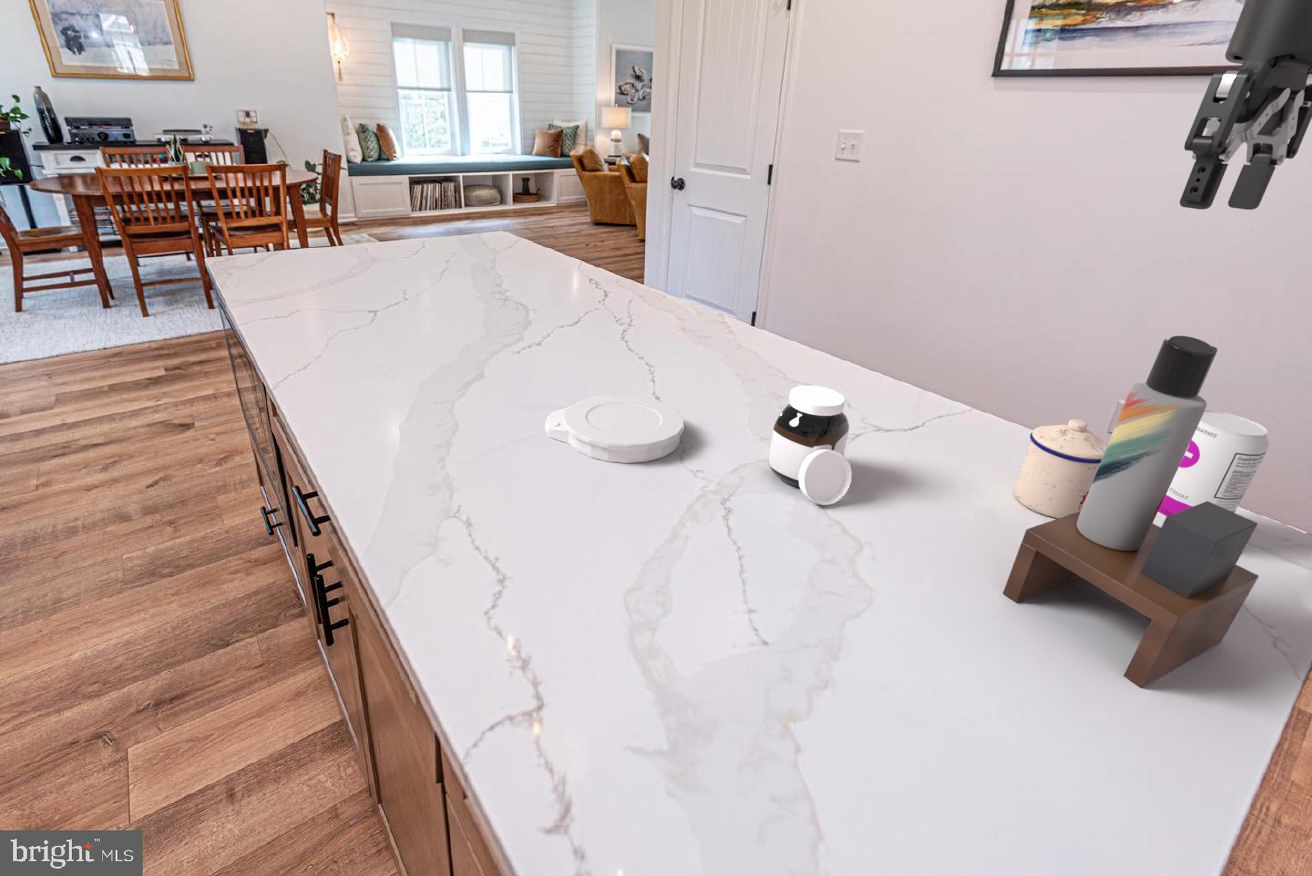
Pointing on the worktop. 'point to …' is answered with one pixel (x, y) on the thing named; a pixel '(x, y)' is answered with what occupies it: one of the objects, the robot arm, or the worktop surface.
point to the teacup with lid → (1059, 468)
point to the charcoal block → (1197, 548)
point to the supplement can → (1216, 464)
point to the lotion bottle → (1147, 446)
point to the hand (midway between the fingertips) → (1218, 208)
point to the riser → (1130, 593)
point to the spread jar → (812, 444)
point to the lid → (618, 428)
